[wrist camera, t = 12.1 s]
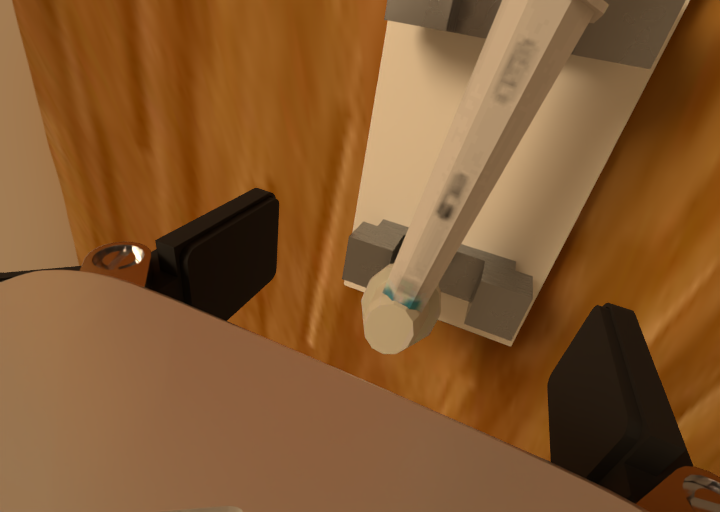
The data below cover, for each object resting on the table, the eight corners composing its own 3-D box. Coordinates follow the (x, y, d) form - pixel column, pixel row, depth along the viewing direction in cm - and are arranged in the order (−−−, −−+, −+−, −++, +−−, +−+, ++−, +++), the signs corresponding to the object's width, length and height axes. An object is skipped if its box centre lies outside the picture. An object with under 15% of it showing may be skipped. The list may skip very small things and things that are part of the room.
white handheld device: (695, -115, 12) (403, 396, 23) (632, -42, 18) (422, 338, 29) (542, -157, 13) (329, 355, 24) (528, -75, 19) (362, 307, 30)
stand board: (422, -138, 22) (416, -149, 21) (739, -113, 18) (754, -125, 17) (349, 277, 38) (343, 284, 37) (511, 336, 34) (510, 346, 33)
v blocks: (420, -54, 23) (399, -73, 19) (671, -21, 20) (704, -36, 16) (362, 254, 34) (342, 279, 31) (513, 306, 31) (511, 341, 27)
